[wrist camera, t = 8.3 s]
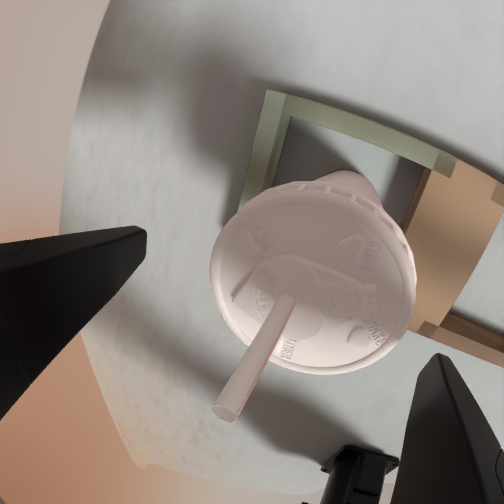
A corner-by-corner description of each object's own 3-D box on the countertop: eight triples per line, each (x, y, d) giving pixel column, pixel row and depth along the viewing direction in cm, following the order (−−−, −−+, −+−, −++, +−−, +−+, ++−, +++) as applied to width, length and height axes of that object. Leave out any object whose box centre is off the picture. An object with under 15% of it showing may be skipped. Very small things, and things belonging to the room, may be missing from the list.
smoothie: (279, 154, 17) (70, 272, 6) (394, 139, 15) (447, 255, 3) (300, 259, 20) (178, 460, 8) (406, 253, 17) (402, 498, 5)
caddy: (516, 356, 16) (522, 375, 14) (241, 241, 21) (227, 255, 19) (588, 242, 11) (602, 256, 10) (278, 90, 16) (266, 89, 14)
